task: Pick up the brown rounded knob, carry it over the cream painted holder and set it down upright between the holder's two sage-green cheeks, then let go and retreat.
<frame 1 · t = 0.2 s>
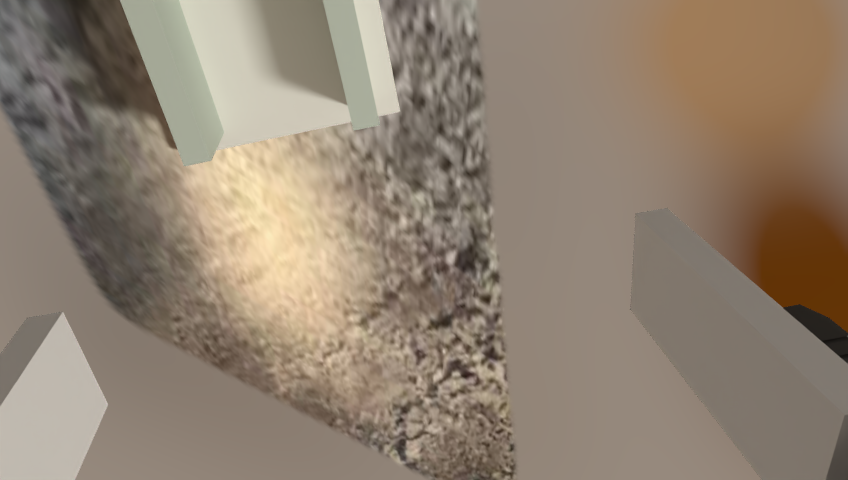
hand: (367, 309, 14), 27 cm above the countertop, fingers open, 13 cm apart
holder: (265, 35, 37), on the countertop
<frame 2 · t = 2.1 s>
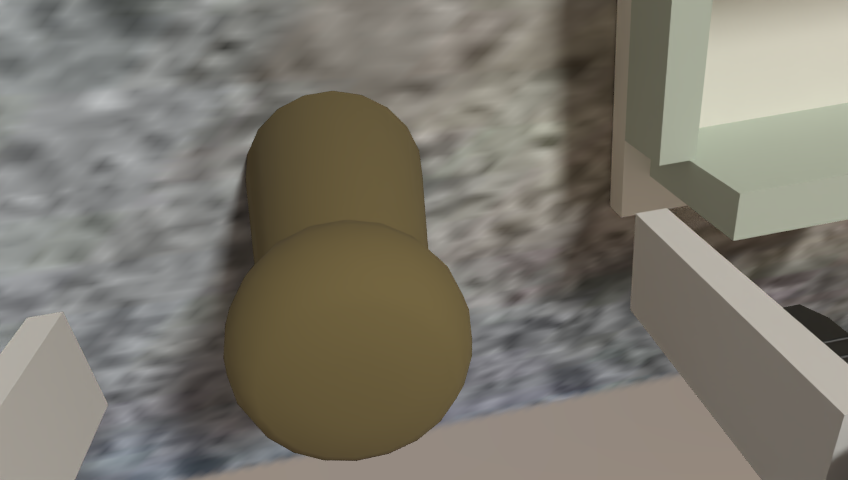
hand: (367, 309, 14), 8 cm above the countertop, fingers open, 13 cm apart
brown rounded knob: (335, 175, 21), on the countertop
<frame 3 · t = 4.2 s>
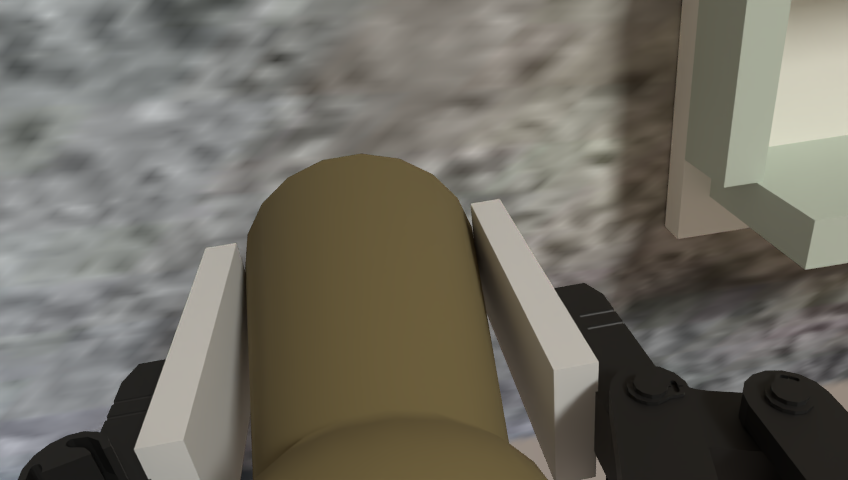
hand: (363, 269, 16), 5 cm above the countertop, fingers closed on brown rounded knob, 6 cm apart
brown rounded knob: (362, 258, 16), point 5 cm above the countertop, touching gripper
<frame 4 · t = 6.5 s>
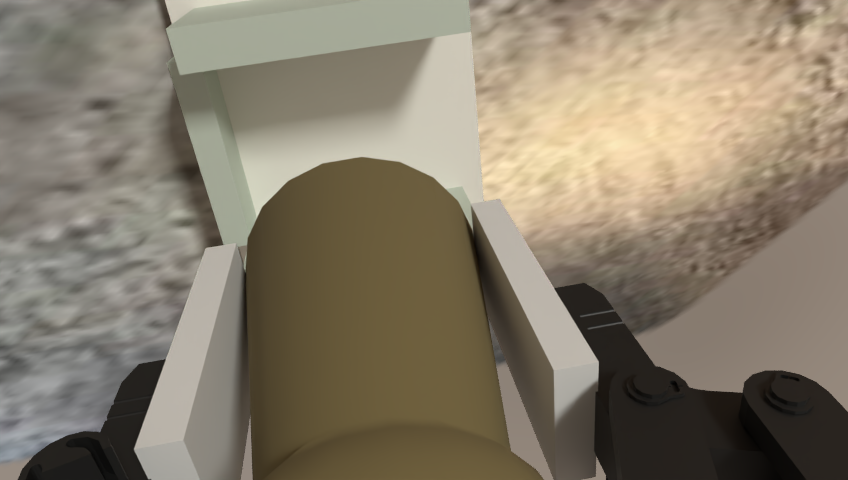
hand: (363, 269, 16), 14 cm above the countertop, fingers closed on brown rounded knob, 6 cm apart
holder: (343, 115, 28), on the countertop
brown rounded knob: (363, 261, 16), point 13 cm above the countertop, touching gripper
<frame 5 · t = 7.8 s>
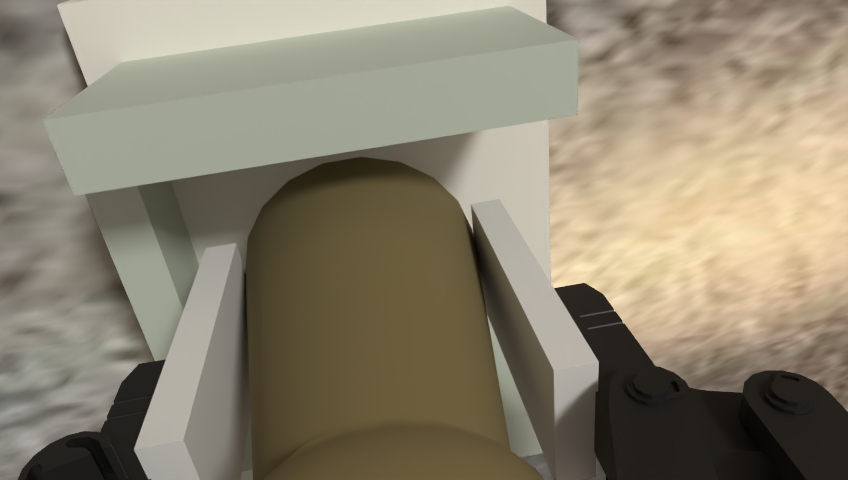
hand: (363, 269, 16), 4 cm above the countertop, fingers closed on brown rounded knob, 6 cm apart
holder: (354, 208, 19), on the countertop
brown rounded knob: (363, 261, 16), point 3 cm above the countertop, touching gripper
when the fingers open (3 cm above the countertop, at t = 8.7 s): brown rounded knob drops 1 cm, resting on holder.
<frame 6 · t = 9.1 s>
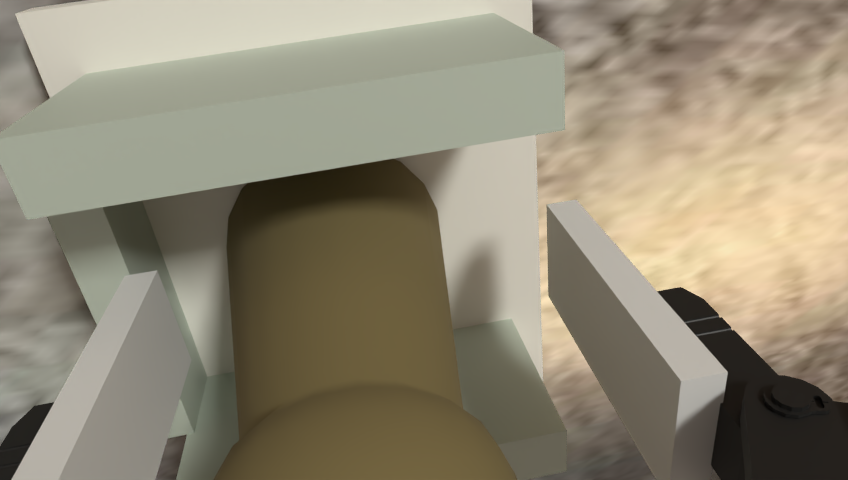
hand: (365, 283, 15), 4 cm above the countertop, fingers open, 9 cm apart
holder: (335, 222, 19), on the countertop
brown rounded knob: (336, 238, 18), point 1 cm above the countertop, touching holder
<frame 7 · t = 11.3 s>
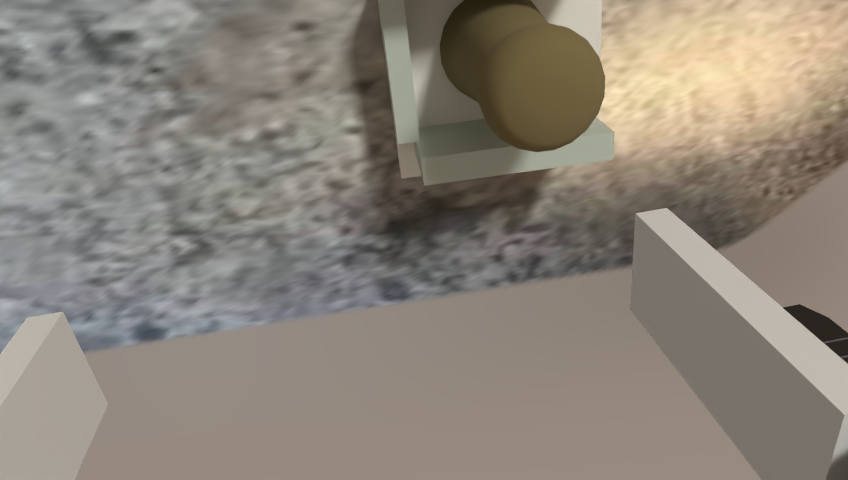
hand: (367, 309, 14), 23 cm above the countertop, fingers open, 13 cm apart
holder: (490, 43, 35), on the countertop
brown rounded knob: (493, 46, 34), point 1 cm above the countertop, touching holder
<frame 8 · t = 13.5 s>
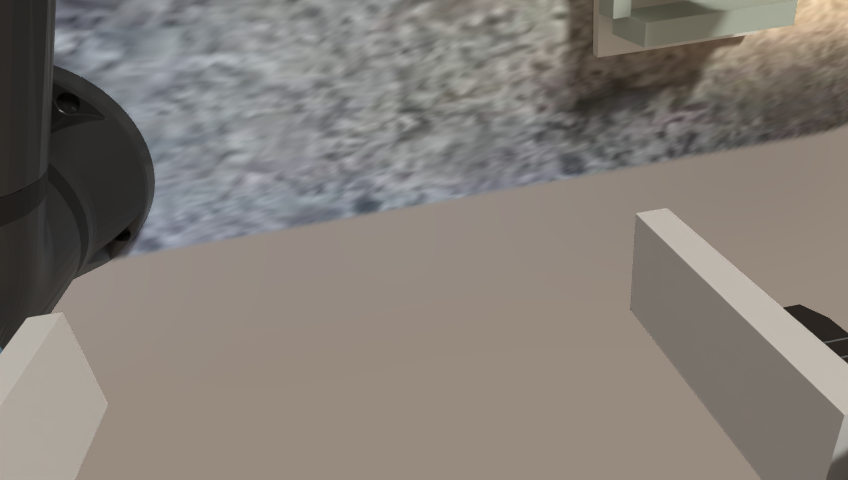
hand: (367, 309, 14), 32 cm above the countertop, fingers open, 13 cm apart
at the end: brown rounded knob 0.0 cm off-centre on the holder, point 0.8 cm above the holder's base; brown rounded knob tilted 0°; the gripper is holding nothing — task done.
